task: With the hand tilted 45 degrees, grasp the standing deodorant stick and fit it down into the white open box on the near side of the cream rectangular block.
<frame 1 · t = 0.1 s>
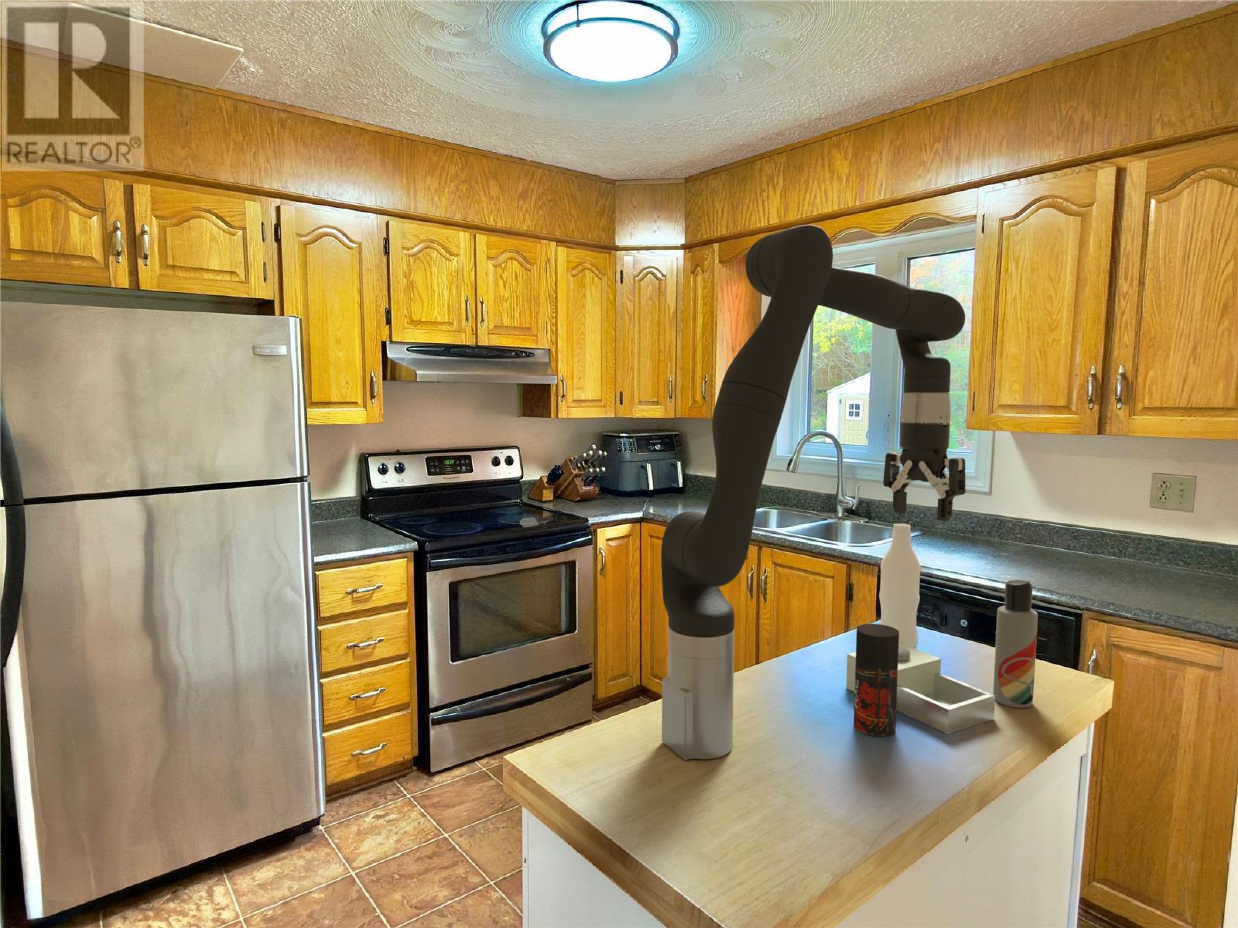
hand: (921, 516, 120), 29 cm above the counter, tool pointing down, fingers open, 8 cm apart
cream rectangular block: (892, 690, 120), on the counter
water bottle: (897, 654, 138), on the counter
deodorant: (874, 728, 107), on the counter
white open box: (938, 711, 112), on the counter
lotion bottle: (1012, 702, 116), on the counter
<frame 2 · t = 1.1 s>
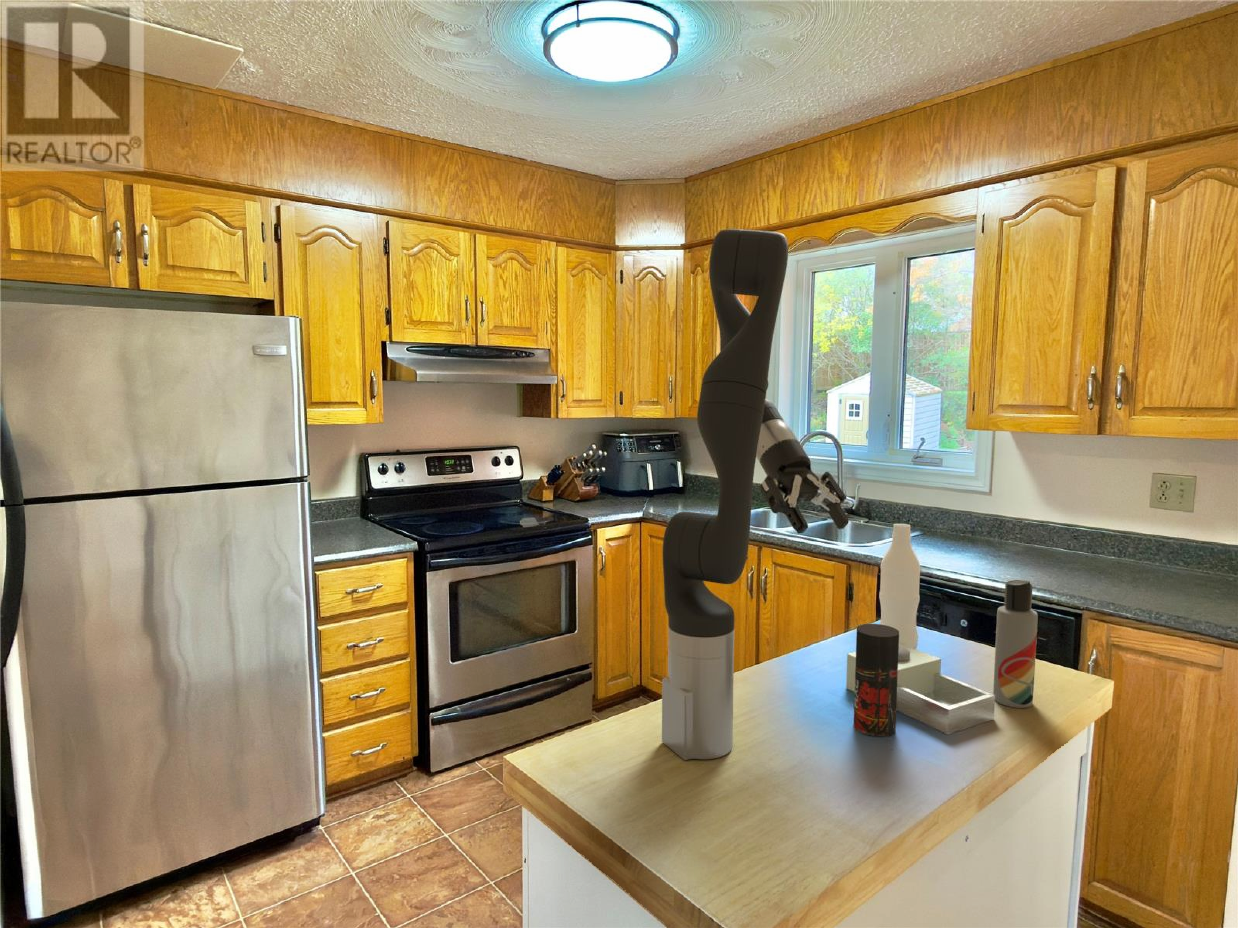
hand: (824, 528, 114), 28 cm above the counter, tool tilted 45°, fingers open, 8 cm apart
nothing on the counter moved.
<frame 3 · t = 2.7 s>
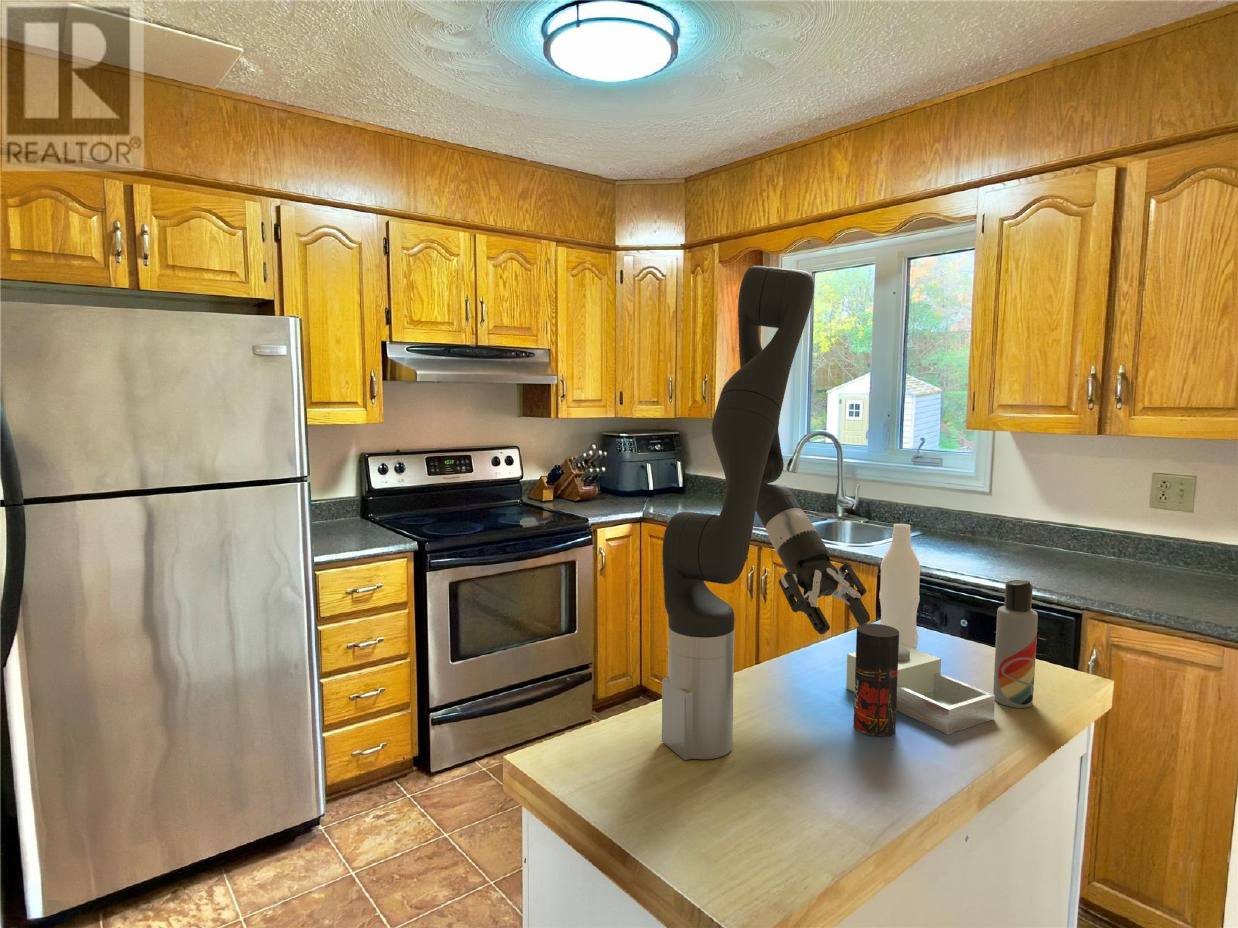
hand: (845, 627, 111), 14 cm above the counter, tool tilted 45°, fingers open, 8 cm apart
nothing on the counter moved.
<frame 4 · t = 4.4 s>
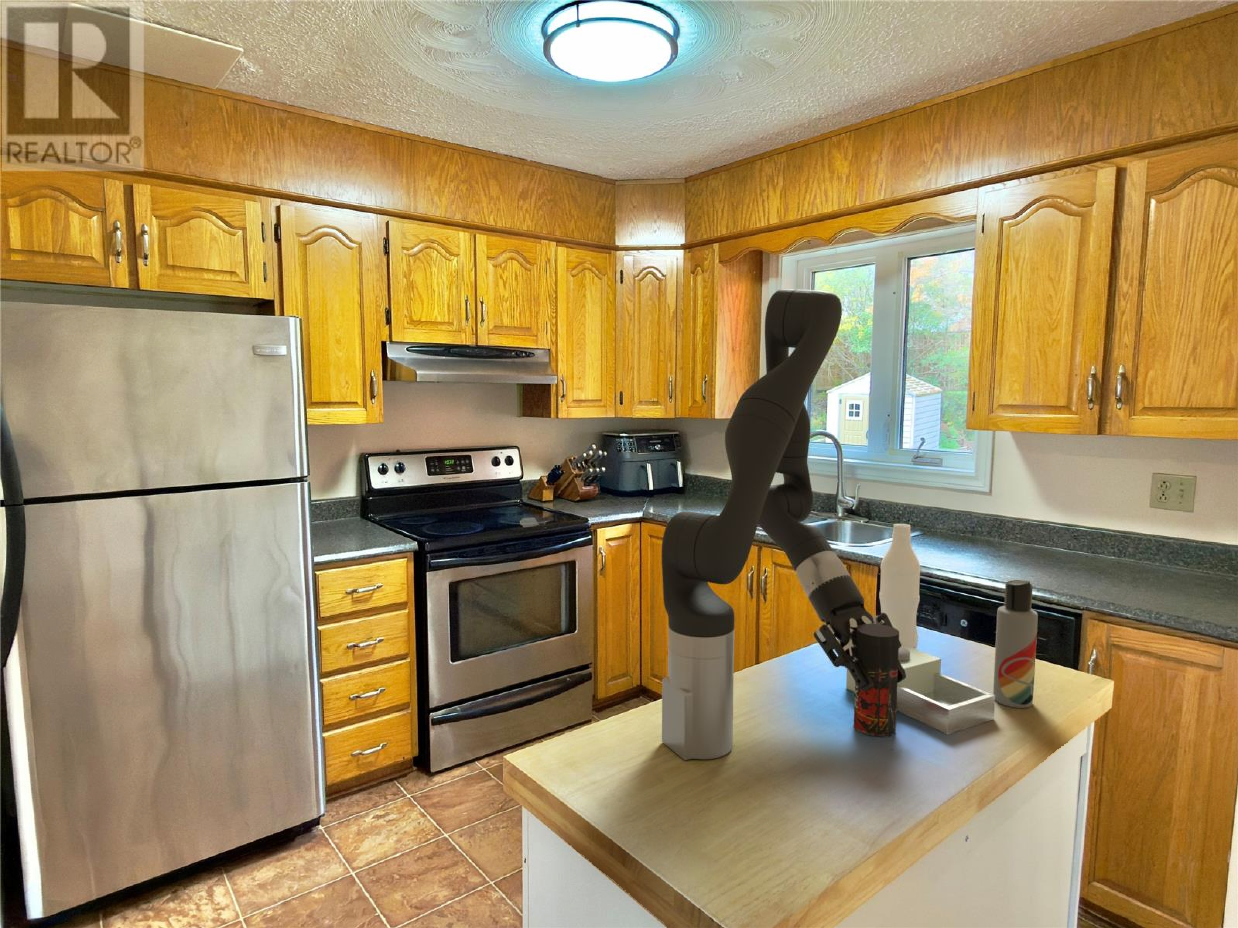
hand: (885, 684, 105), 7 cm above the counter, tool tilted 45°, fingers closed on deodorant, 6 cm apart
deodorant: (874, 728, 107), on the counter, touching gripper
everything else where it was.
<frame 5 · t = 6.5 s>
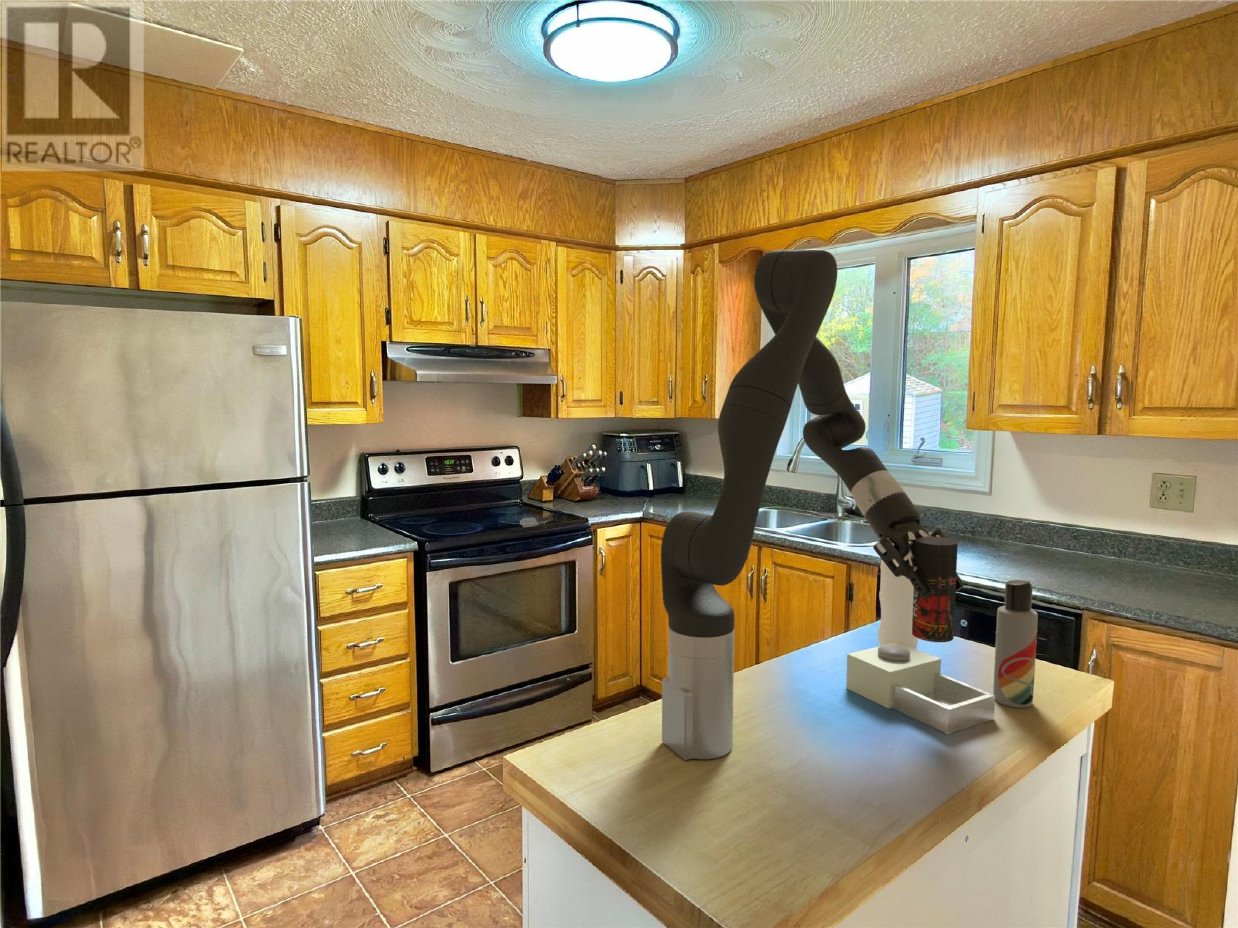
hand: (944, 592, 109), 20 cm above the counter, tool tilted 45°, fingers closed on deodorant, 6 cm apart
deodorant: (932, 636, 111), point 12 cm above the counter, touching gripper
everything else where it was.
when the fingers open (10 cm above the counter, at t = 9.0 s): deodorant drops 1 cm, resting on white open box.
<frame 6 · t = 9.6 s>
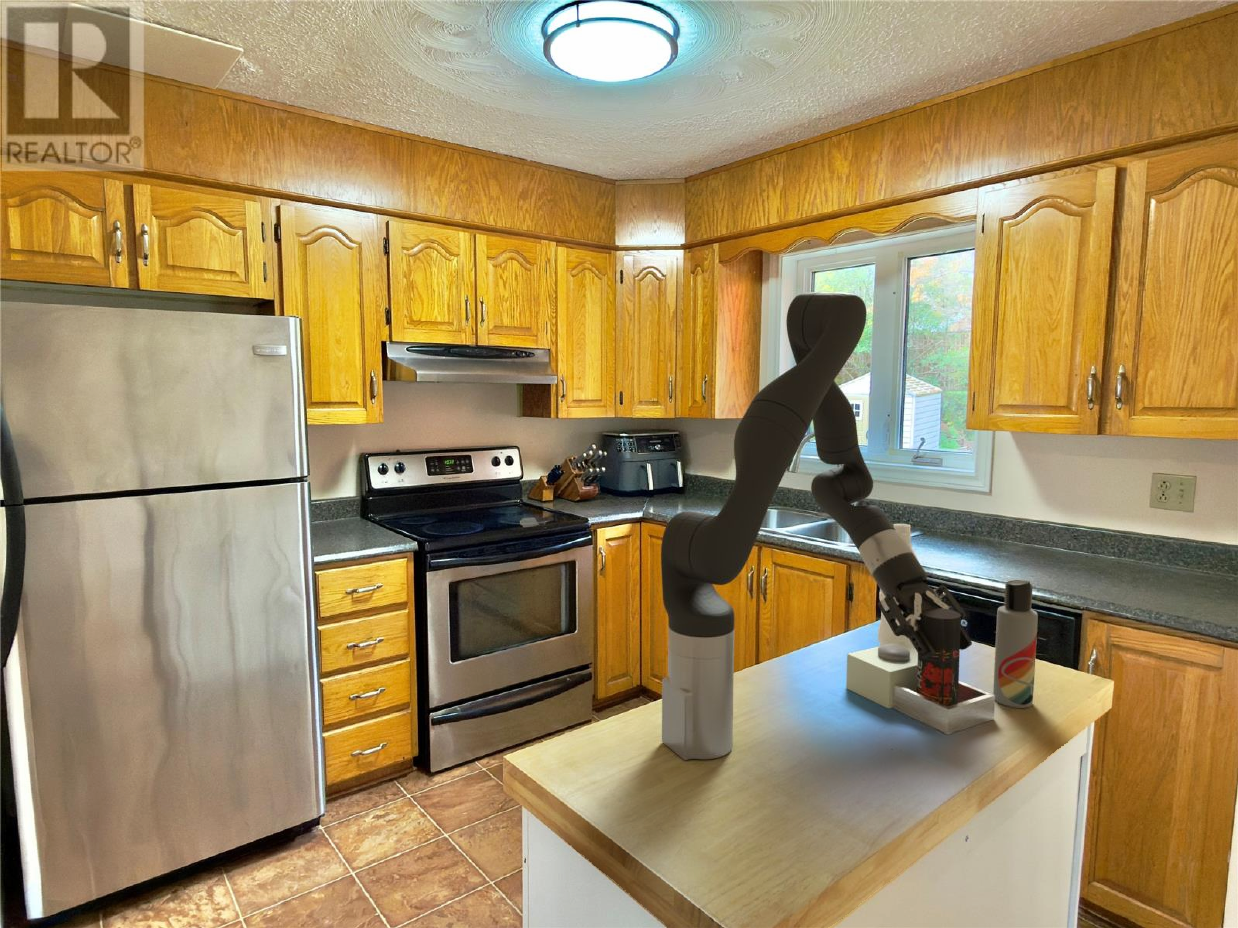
hand: (948, 651, 110), 10 cm above the counter, tool tilted 45°, fingers open, 8 cm apart
deodorant: (936, 707, 112), point 1 cm above the counter, touching white open box
everything else where it was.
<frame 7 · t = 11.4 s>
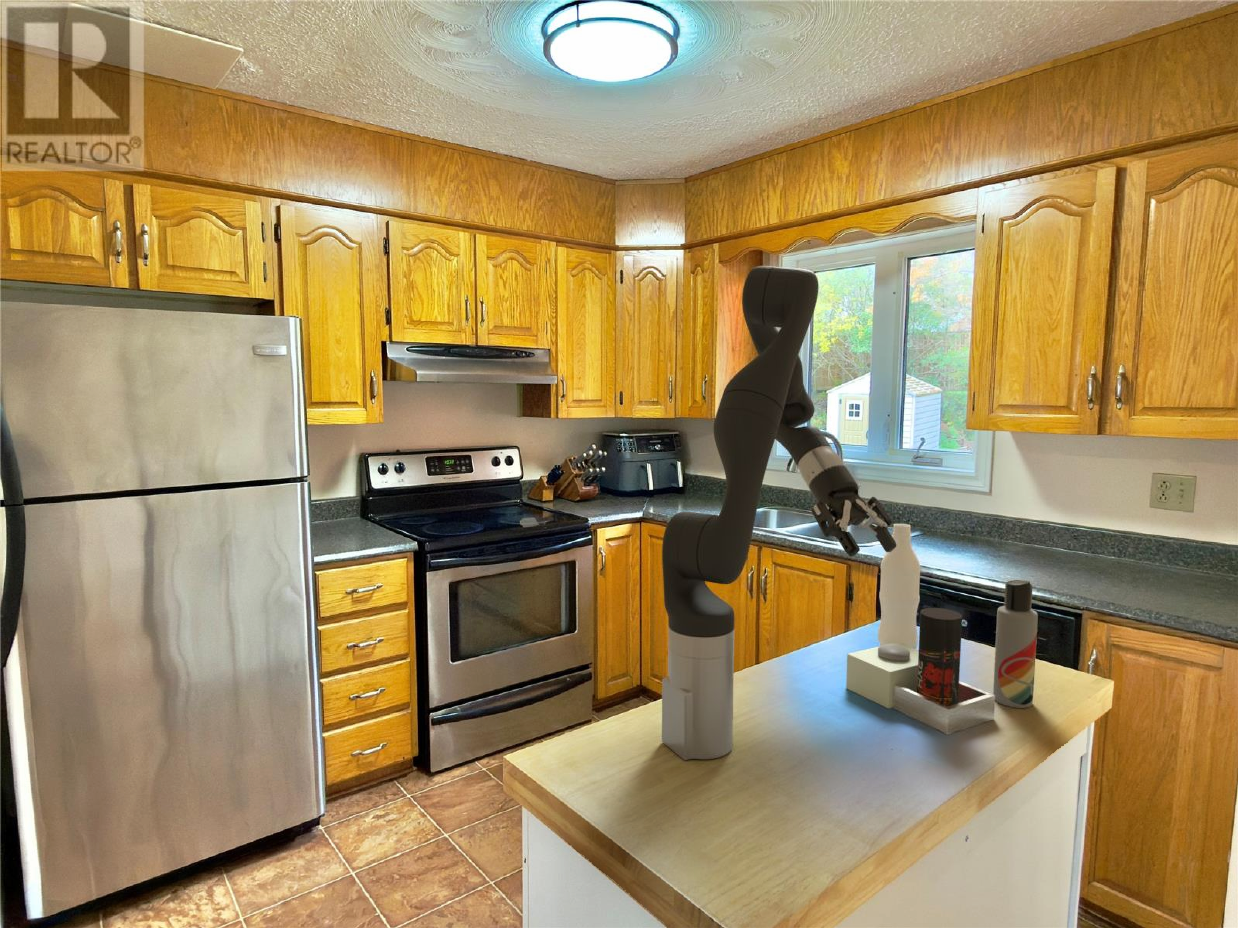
hand: (874, 551, 120), 23 cm above the counter, tool tilted 45°, fingers open, 8 cm apart
nothing on the counter moved.
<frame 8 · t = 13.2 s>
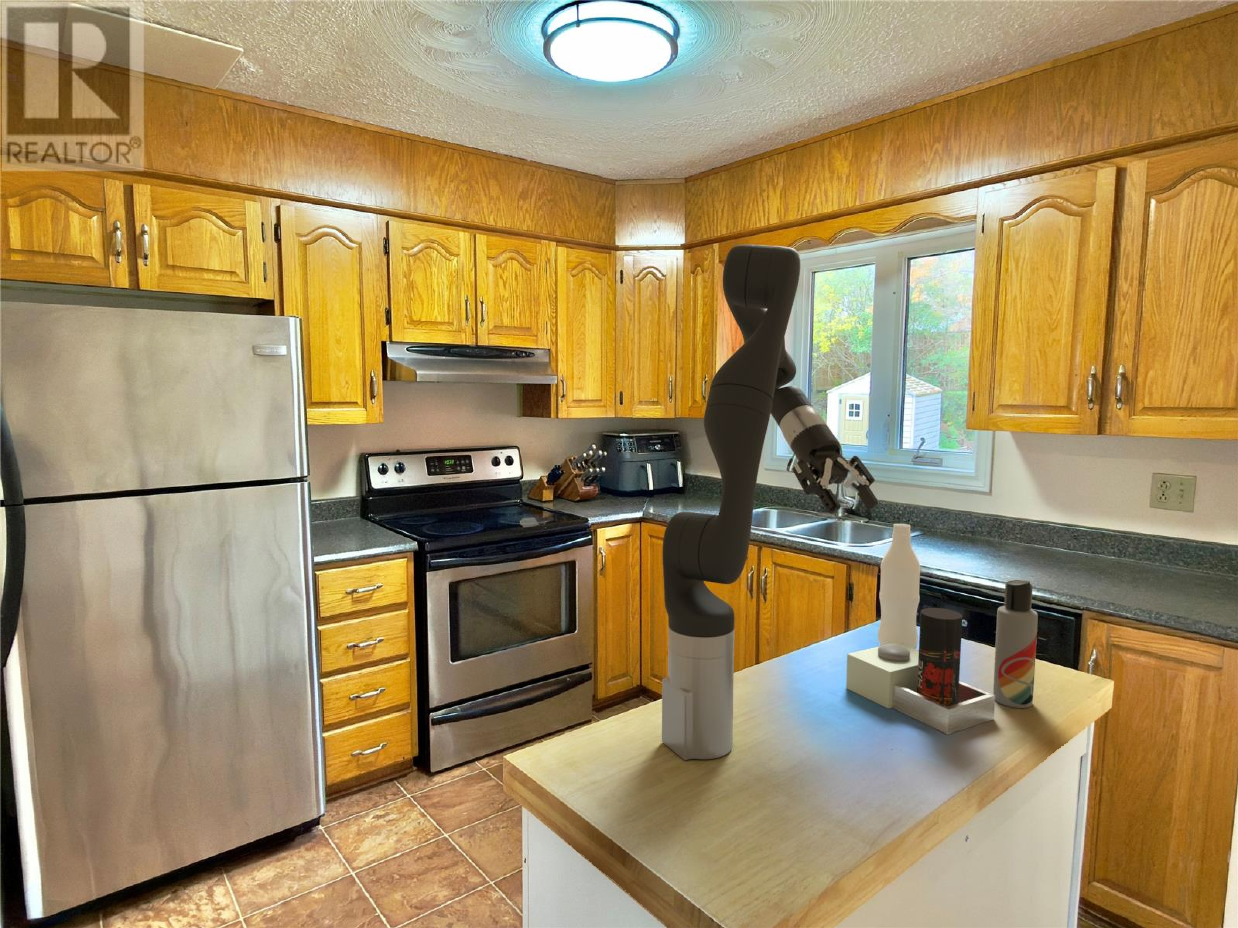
hand: (855, 509, 119), 31 cm above the counter, tool tilted 45°, fingers open, 8 cm apart
nothing on the counter moved.
at the end: deodorant inside the target area on the white open box (0.3 cm from its centre), point 0.6 cm above the white open box's base; deodorant tilted 0°; the gripper is holding nothing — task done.
